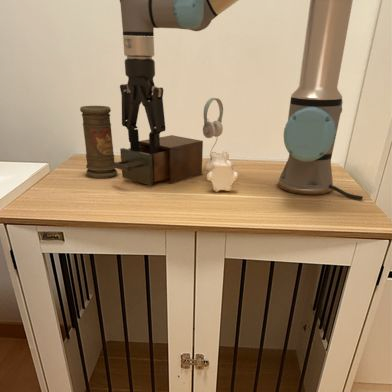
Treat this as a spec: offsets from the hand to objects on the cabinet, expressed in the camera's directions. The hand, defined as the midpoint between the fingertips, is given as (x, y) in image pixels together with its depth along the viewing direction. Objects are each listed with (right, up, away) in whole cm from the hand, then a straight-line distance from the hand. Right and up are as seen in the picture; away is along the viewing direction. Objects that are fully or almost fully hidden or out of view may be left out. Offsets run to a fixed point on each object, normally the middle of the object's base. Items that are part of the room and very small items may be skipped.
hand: (144, 157), depth 116 cm
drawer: (0, -5, +3) cm, 6 cm away
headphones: (+19, +5, +19) cm, 27 cm away
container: (-14, -1, +9) cm, 17 cm away
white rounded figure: (+21, -7, +3) cm, 23 cm away
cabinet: (+7, 0, +11) cm, 13 cm away
